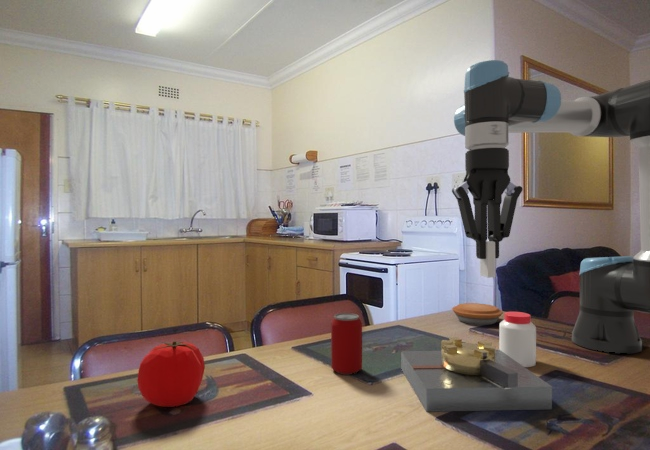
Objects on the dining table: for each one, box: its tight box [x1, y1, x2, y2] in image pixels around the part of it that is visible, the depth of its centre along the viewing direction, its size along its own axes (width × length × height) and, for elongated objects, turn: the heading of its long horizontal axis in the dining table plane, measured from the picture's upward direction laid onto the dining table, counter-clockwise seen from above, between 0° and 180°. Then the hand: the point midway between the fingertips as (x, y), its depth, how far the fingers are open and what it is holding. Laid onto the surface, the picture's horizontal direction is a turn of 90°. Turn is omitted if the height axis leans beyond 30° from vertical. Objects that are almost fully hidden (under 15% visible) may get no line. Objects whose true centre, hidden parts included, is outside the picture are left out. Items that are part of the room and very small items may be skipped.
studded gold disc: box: [440, 336, 518, 388], centre depth 78 cm, size 17×10×4 cm, turn 18°
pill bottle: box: [498, 311, 537, 368], centre depth 96 cm, size 8×8×11 cm
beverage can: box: [330, 312, 363, 375], centre depth 91 cm, size 7×7×12 cm
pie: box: [451, 302, 504, 326], centre depth 135 cm, size 16×16×5 cm
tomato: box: [136, 340, 206, 408], centre depth 76 cm, size 12×12×11 cm
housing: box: [400, 349, 553, 413], centre depth 81 cm, size 22×21×4 cm
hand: (487, 276), depth 78 cm, fingers closed
